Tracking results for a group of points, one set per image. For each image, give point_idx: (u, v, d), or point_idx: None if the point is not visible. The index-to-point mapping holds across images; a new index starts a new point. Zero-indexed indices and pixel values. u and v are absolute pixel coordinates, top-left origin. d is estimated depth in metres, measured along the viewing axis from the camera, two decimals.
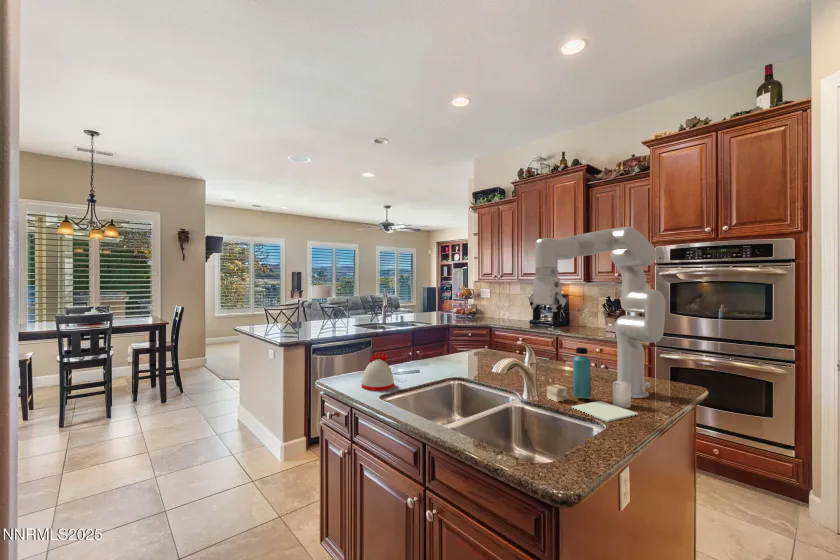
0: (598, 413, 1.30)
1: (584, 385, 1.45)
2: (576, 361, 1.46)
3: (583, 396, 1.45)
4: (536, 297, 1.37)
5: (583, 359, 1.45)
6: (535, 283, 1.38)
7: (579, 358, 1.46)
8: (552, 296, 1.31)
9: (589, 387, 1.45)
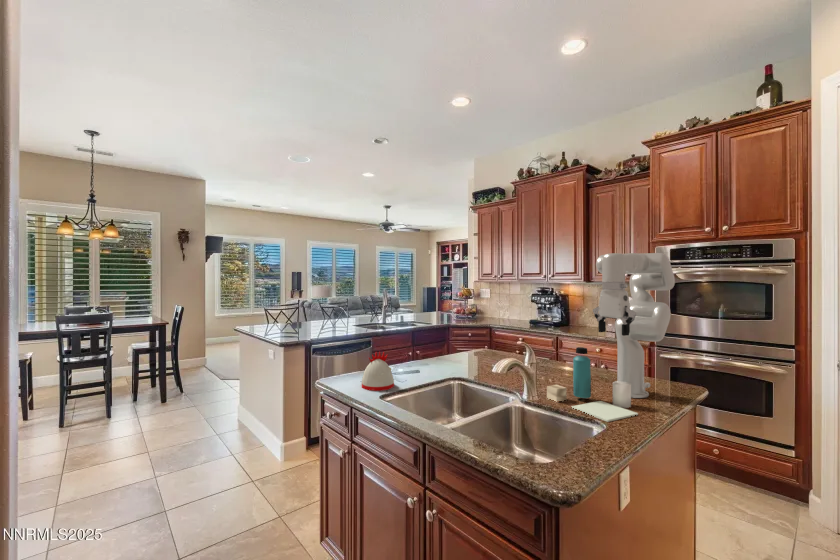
0: (598, 413, 1.30)
1: (584, 385, 1.45)
2: (576, 361, 1.46)
3: (583, 396, 1.45)
4: (603, 310, 1.42)
5: (583, 359, 1.45)
6: (602, 296, 1.43)
7: (579, 358, 1.46)
8: (622, 309, 1.36)
9: (589, 387, 1.45)
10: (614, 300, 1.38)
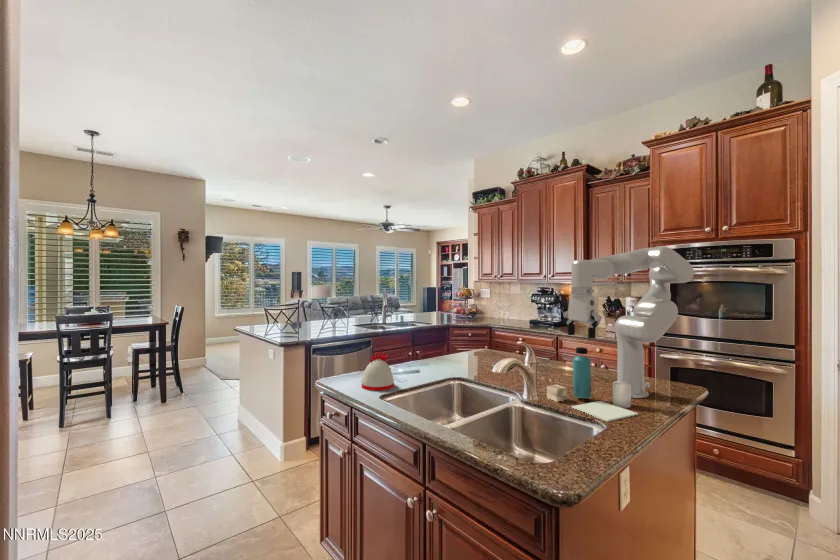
0: (598, 413, 1.30)
1: (584, 385, 1.45)
2: (576, 361, 1.46)
3: (583, 396, 1.45)
4: (572, 314, 1.49)
5: (583, 359, 1.45)
6: (571, 301, 1.50)
7: (579, 358, 1.46)
8: (588, 313, 1.43)
9: (589, 387, 1.45)
10: (581, 304, 1.45)
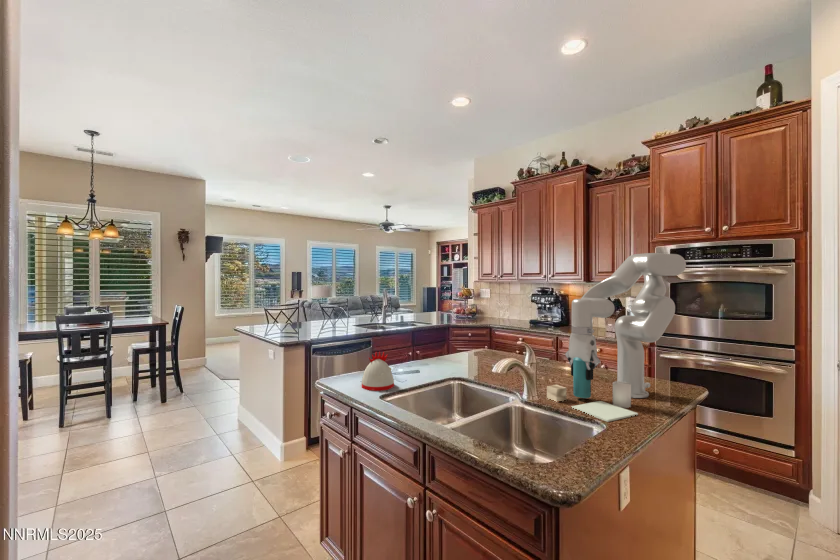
0: (598, 413, 1.30)
1: (584, 385, 1.45)
2: (576, 361, 1.46)
3: (583, 396, 1.45)
4: (572, 352, 1.49)
5: None
6: (571, 339, 1.50)
7: (579, 358, 1.46)
8: (588, 354, 1.43)
9: (589, 387, 1.45)
10: (582, 344, 1.45)
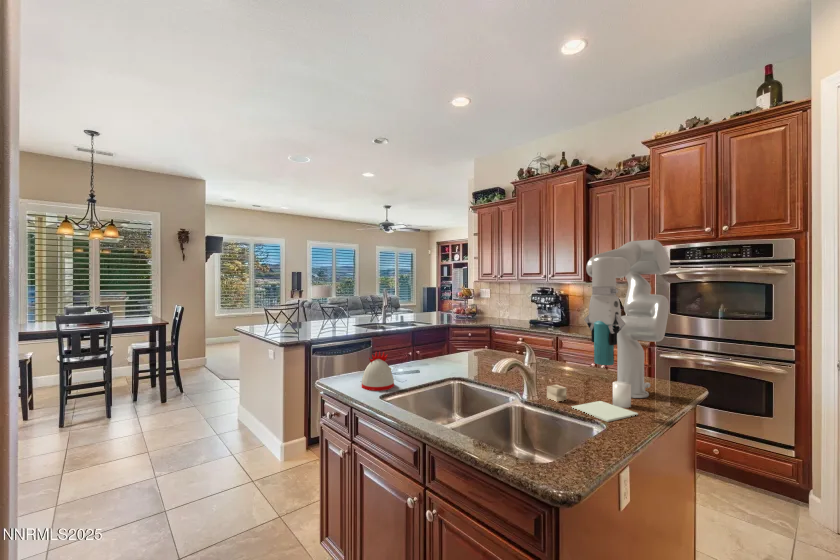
0: (598, 413, 1.30)
1: (606, 351, 1.31)
2: (598, 325, 1.33)
3: (605, 363, 1.31)
4: (593, 316, 1.36)
5: None
6: (592, 302, 1.36)
7: (601, 322, 1.33)
8: (612, 316, 1.29)
9: (612, 353, 1.32)
10: (604, 306, 1.31)
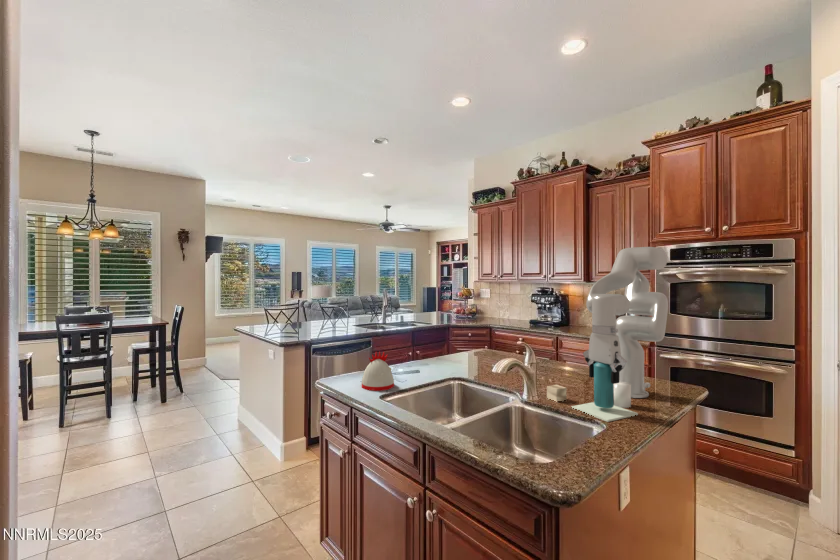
0: (598, 413, 1.30)
1: (606, 394, 1.32)
2: (598, 367, 1.33)
3: (606, 406, 1.32)
4: (593, 354, 1.36)
5: (605, 365, 1.32)
6: (592, 339, 1.36)
7: (601, 364, 1.33)
8: (612, 356, 1.29)
9: (612, 396, 1.32)
10: (604, 345, 1.31)
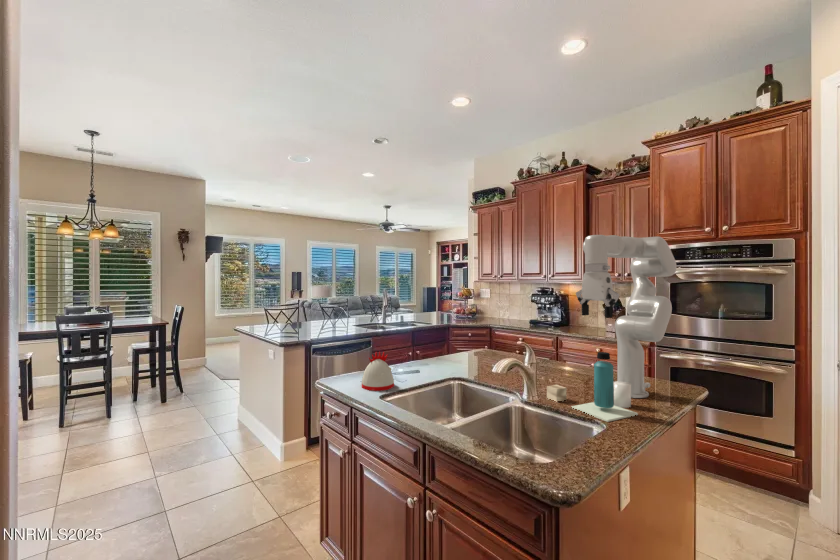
0: (598, 413, 1.30)
1: (606, 394, 1.32)
2: (598, 367, 1.33)
3: (606, 406, 1.32)
4: (586, 292, 1.40)
5: (606, 365, 1.32)
6: (585, 279, 1.41)
7: (601, 364, 1.33)
8: (604, 291, 1.34)
9: (612, 396, 1.32)
10: (597, 282, 1.36)
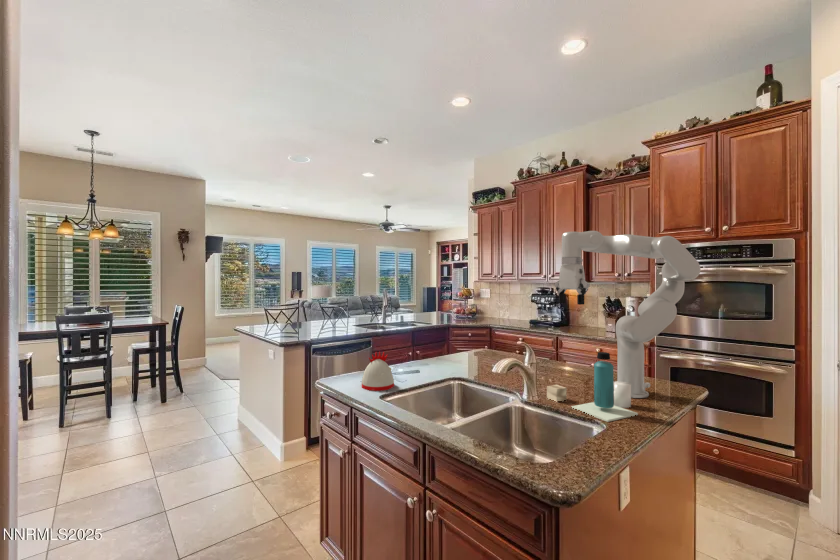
0: (598, 413, 1.30)
1: (606, 394, 1.32)
2: (598, 367, 1.33)
3: (606, 406, 1.32)
4: (562, 283, 1.59)
5: (606, 365, 1.32)
6: (561, 270, 1.59)
7: (601, 364, 1.33)
8: (577, 281, 1.53)
9: (612, 396, 1.32)
10: (571, 273, 1.55)
